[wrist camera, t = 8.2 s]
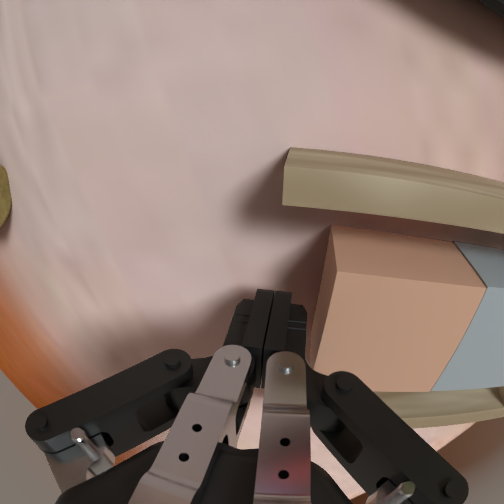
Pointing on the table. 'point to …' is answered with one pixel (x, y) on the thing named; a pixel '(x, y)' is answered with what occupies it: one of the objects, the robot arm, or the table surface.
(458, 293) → the peach wooden cube
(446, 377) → the blue-grey block
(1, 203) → the gavel
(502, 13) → the electronic game
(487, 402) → the corral
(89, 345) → the table surface
